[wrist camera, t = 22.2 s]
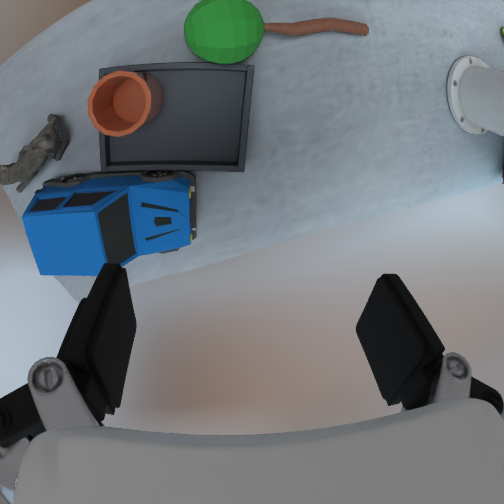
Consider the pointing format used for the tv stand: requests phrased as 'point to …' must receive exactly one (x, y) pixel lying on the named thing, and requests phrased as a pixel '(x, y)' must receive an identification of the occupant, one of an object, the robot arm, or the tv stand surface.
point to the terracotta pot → (124, 102)
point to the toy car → (109, 219)
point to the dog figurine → (34, 156)
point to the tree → (245, 29)
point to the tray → (187, 120)
